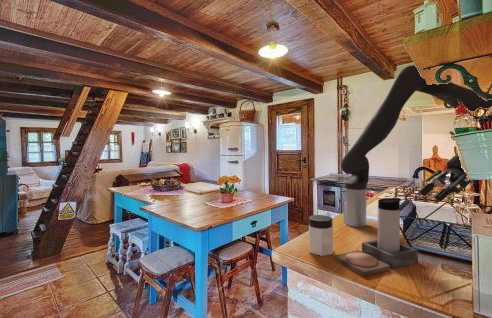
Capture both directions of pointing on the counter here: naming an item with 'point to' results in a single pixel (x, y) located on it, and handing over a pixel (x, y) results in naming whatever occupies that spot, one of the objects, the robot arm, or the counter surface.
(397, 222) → the travel mug
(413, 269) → the counter surface
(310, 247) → the jar
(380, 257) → the mug dock
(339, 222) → the counter surface
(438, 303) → the counter surface
